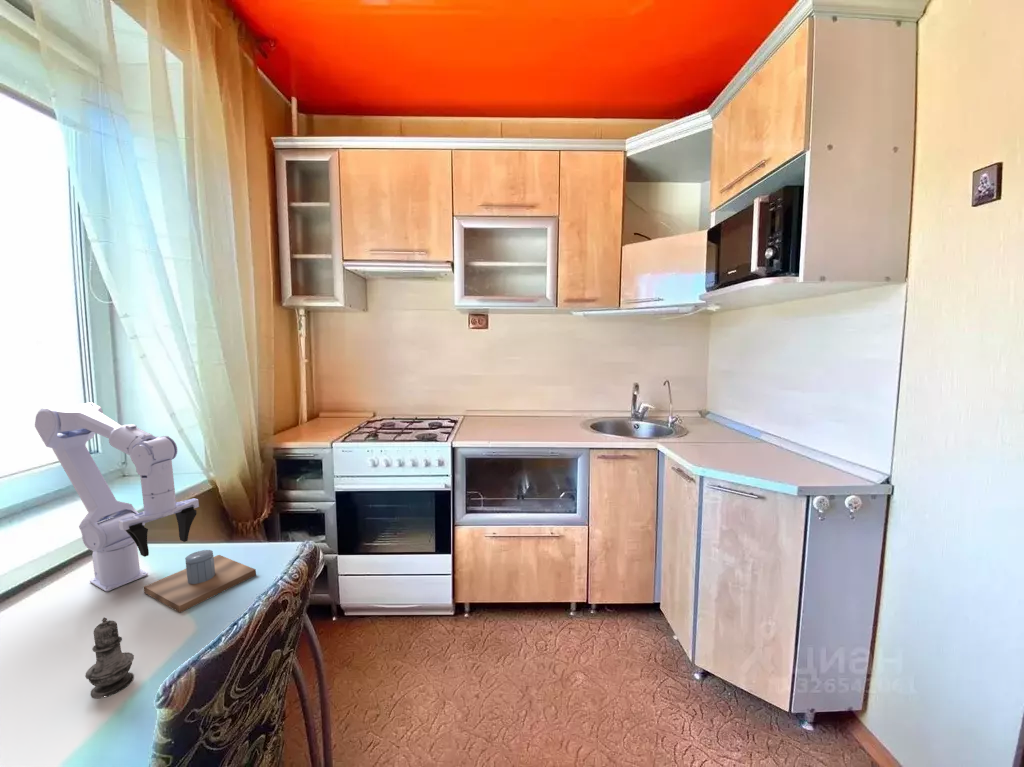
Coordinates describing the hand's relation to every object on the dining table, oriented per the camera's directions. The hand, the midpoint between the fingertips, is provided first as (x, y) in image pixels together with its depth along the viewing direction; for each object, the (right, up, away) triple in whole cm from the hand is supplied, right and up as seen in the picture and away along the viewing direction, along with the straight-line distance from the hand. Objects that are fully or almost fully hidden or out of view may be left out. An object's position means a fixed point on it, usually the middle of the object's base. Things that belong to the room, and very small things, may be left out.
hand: (164, 547), depth 99 cm
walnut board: (+7, -9, +2) cm, 12 cm away
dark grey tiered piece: (+14, -12, -28) cm, 34 cm away
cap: (+7, -8, +2) cm, 11 cm away
